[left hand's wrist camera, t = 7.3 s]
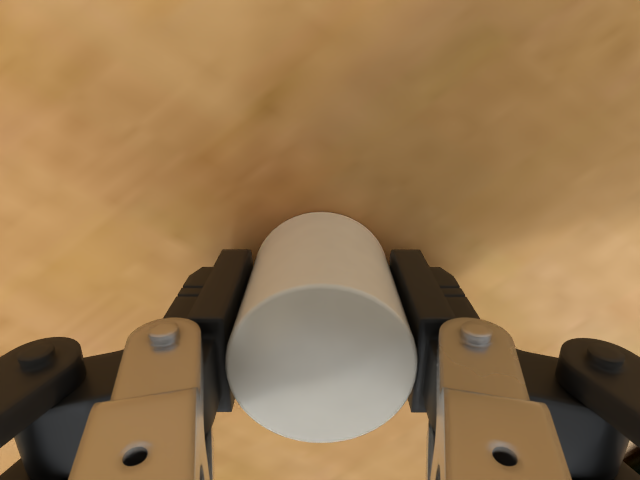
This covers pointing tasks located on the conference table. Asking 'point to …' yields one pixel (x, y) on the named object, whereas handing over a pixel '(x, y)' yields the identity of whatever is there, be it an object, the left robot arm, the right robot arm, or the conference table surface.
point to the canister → (321, 333)
